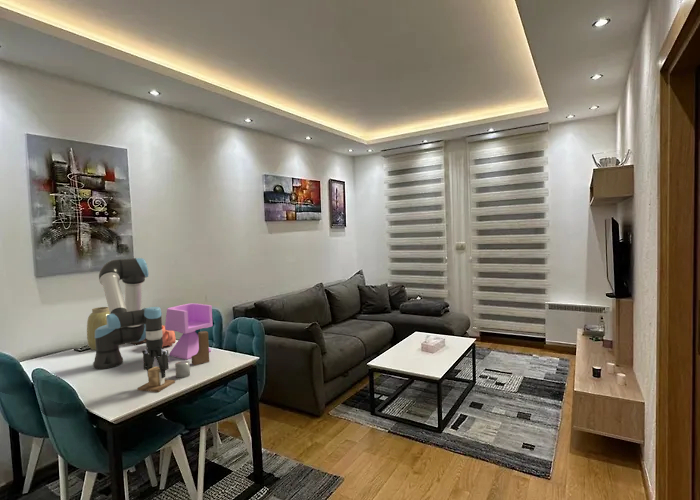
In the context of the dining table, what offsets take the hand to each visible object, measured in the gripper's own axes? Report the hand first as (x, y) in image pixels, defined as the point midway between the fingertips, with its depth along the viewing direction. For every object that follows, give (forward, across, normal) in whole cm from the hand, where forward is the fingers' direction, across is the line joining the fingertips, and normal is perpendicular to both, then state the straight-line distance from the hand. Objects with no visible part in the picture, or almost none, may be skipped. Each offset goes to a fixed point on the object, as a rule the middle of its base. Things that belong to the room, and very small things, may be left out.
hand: (157, 383), depth 199 cm
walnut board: (+2, 0, 0) cm, 2 cm away
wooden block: (+2, +1, +35) cm, 35 cm away
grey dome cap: (+2, +4, +15) cm, 16 cm away
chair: (+1, -16, +49) cm, 52 cm away
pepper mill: (+1, -67, +67) cm, 95 cm away
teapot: (+1, -46, +60) cm, 76 cm away
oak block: (0, 0, 0) cm, 0 cm away
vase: (+1, -85, +50) cm, 99 cm away
